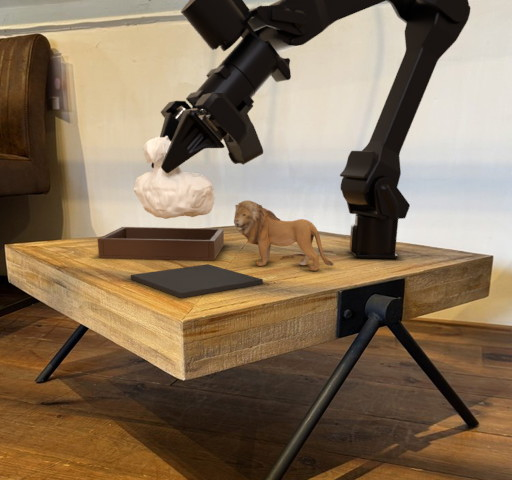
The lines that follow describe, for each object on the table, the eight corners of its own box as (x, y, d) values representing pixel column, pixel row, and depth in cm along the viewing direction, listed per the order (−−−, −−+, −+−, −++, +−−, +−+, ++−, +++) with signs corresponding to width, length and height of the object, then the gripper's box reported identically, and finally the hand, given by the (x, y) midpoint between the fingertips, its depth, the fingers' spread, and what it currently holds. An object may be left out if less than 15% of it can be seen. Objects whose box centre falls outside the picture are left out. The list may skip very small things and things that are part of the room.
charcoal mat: (208, 268, 80) (208, 264, 80) (262, 283, 71) (263, 279, 71) (130, 279, 73) (130, 274, 73) (180, 298, 64) (180, 293, 64)
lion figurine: (228, 265, 82) (228, 201, 79) (239, 259, 87) (239, 198, 84) (330, 272, 78) (334, 205, 75) (336, 265, 83) (339, 202, 80)
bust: (136, 233, 79) (96, 166, 71) (158, 196, 83) (123, 128, 74) (211, 235, 74) (178, 164, 66) (231, 196, 78) (202, 124, 69)
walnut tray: (223, 245, 99) (223, 228, 98) (214, 260, 86) (214, 241, 85) (123, 243, 99) (122, 226, 98) (98, 257, 87) (97, 238, 86)
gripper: (310, 125, 70) (227, 221, 69) (248, 128, 86) (181, 206, 85) (251, 50, 64) (161, 153, 64) (197, 68, 80) (125, 151, 80)
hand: (158, 170), depth 73 cm, fingers closed on bust, 4 cm apart
